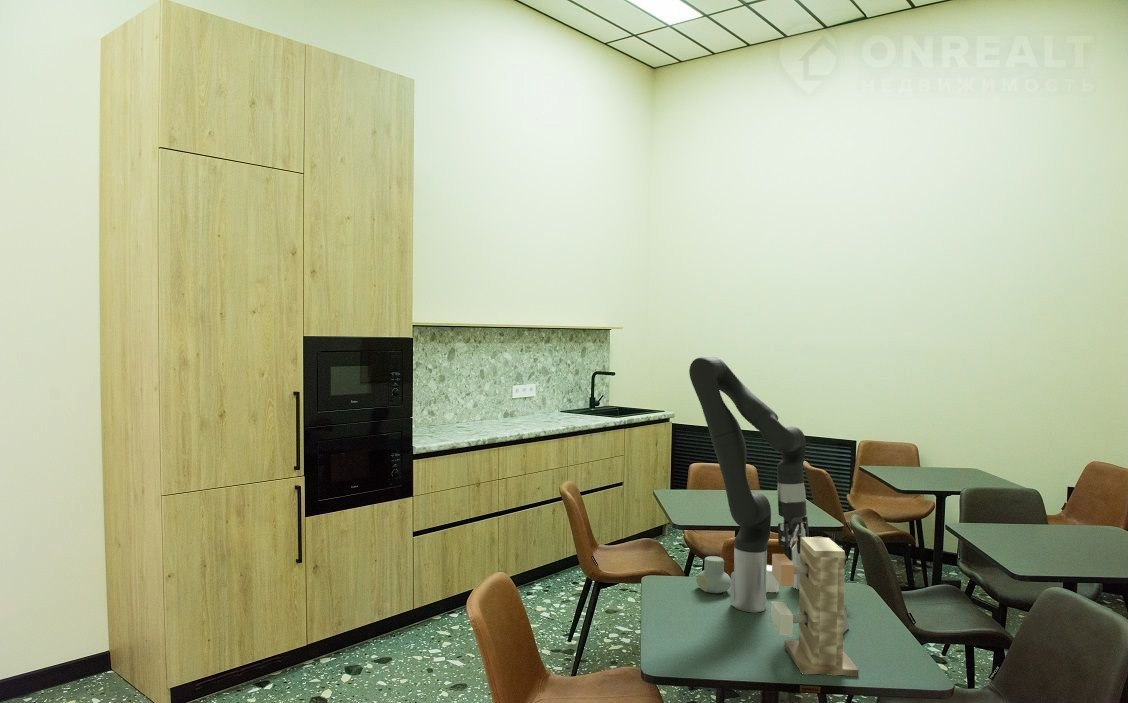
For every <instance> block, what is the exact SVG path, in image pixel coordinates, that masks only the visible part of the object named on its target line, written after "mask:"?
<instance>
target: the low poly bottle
mask: <svg viewBox="0 0 1128 703" xmlns="http://www.w3.org/2000/svg"><path fill="white" fill-rule="evenodd" d="M795 540H796V541H795V542H796V543H795V544H794V545H792V546H791V547H792V557H793V560H792V561H791V562H792V563H793V564H794V566H800V554H798V552H797V539H796V538H795ZM792 588H793V589H795V588H796V590H798V589H800V574H794V586H792Z"/></svg>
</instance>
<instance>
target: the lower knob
mask: <svg viewBox="0 0 1128 703" xmlns="http://www.w3.org/2000/svg"><path fill="white" fill-rule="evenodd" d="M770 603H771V604H770V605H771V606H770V608H771V610H770V611H771V614H770V617H771V618H770V621H771V623H772V625H773V627H774V628H775V630H776V632H777V633H778V634H779V636H781V637H794V624H799V623H808V615H799V613H798V614H793V612H792V611H791V610H790V608H789V607H788V606H787V604H786V603H785V602H784V601H771V602H770Z"/></svg>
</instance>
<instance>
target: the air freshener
mask: <svg viewBox="0 0 1128 703" xmlns="http://www.w3.org/2000/svg"><path fill="white" fill-rule="evenodd" d="M724 563H725V560H724V558H723V557H720V556H714V555H713V556H712V555H710V556H706V557H705V558H704V565H703V566H704V568H703V569H704V570H702V571H700V572H699V573H698V574H697V575H696V583H697V586H698V587H699V588H700V589H701V590H702V591H704V592H705V591H706V592H705V593H707V592H709V593H708V594H722V592H723V593H725V592H727V591H728V590H730V589H731V576H730V575H729V574H728V573H726V572H725V571H724V569H725V568H724V567H725V564H724Z"/></svg>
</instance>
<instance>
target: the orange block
mask: <svg viewBox="0 0 1128 703" xmlns="http://www.w3.org/2000/svg"><path fill="white" fill-rule="evenodd" d="M771 557H772V558H771V560H772V561H771V565H772V574H773V576H774V577H775V578H776V580H777V581H778V582H779V586H781V587H783V586H784V587H790V586H791V587H793V586H794V574H809V566H794V564H793V563H792V562H791V561H790V560H789V559H788V558H787V556H786V555H785V554H784V553H771Z"/></svg>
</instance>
